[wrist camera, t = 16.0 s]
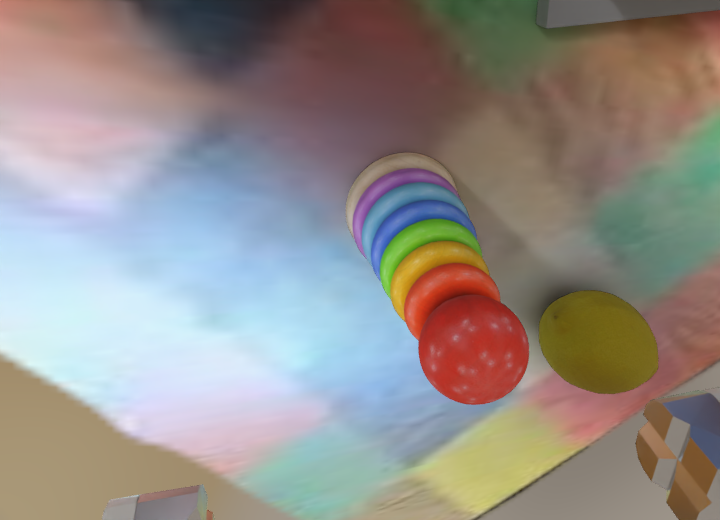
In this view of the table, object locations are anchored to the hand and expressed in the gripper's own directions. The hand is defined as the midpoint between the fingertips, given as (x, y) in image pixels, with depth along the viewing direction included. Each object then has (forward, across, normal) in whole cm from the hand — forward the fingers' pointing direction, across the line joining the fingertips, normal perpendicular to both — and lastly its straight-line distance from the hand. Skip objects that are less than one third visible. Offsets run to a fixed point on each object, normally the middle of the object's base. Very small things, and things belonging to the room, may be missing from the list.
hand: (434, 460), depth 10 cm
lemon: (+29, -21, +23) cm, 43 cm away
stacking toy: (+29, -6, +10) cm, 32 cm away
